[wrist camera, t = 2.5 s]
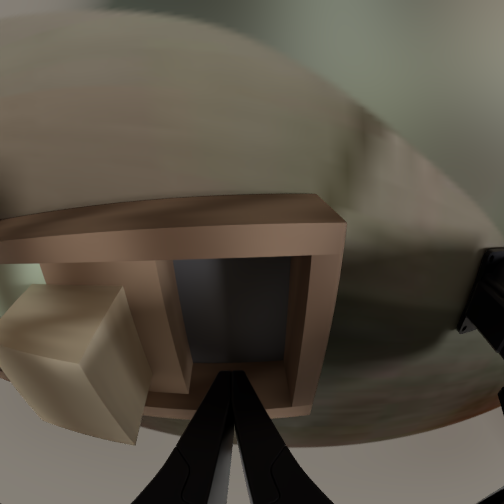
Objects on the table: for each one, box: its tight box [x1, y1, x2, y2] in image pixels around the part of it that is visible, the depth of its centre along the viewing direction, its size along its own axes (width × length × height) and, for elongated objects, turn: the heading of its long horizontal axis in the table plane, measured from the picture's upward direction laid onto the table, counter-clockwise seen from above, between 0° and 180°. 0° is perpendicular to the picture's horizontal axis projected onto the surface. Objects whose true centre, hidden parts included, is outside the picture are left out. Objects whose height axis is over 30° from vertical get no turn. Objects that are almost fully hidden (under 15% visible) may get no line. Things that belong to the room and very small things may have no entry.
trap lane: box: [0, 194, 347, 419], centre depth 11 cm, size 23×10×4 cm, turn 91°
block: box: [0, 284, 153, 445], centre depth 9 cm, size 5×5×4 cm
